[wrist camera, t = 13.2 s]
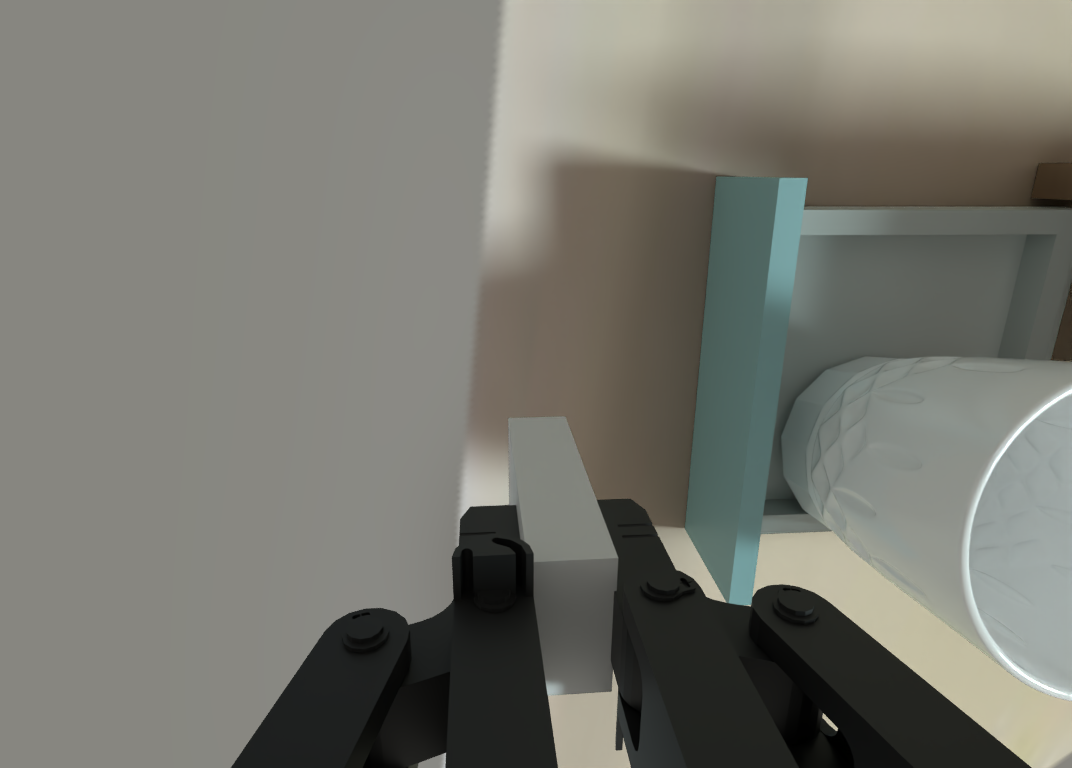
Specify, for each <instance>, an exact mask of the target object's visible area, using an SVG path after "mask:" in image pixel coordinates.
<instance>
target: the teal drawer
mask: <svg viewBox="0 0 1072 768" xmlns="http://www.w3.org/2000/svg"><path fill="white" fill-rule="evenodd" d="M807 181H808V178H783V177H716V187H715V198H714V209H713V220H712V231H711V243H710V254H709V265H708V276H707V287H706V298H705V309H704V321H703V332H702V343H701V354H700V365H699V376H698V387H697V399H696V410H695V421H694V432H693V443H692V454H691V466H690V477H689V488H688V499H687V510H686V521H685V530H686V532H687V533H688V535H689V537H690V539H691V540H692V542H693V544H694V546H695V548H696V549H697V551H698V553H699V555H700V556H701V558H702V560H703V562H704V563H705V565H706V567H707V569H708V570H709V572H710V574H711V576H712V578H713V579H714V581H715V583H716V585H717V586H718V588H719V590H720V592H721V593H722V595H723V597H724V599H725V600H726V602H727V603H731V604H737V605H751V602H752V594H753V587H754V579H755V572H756V564H757V557H758V549H759V542H760V534H775V533H800V532H825V531H831V530H830V529H829V528H828V527H826V526H825V525H824V524H822V523H821V522H819V521H818V520H817V519H815V518H814V517H813V516H811V515H810V514H808V513H807V512H806V511H804V510H803V509H802V507H801V506H800V504H799V502H798V500H797V499H796V497H795V495H794V493H793V492H792V490H791V488H790V486H789V485H788V483H787V481H786V479H785V478H784V476H783V462H782V444H781V435H782V433H783V430H784V428H785V425H786V422H787V420H788V417H789V415H790V412H791V410H792V407H793V405H794V402H795V400H796V398H797V397H798V396H799V395H800V394H801V393H802V392H803V391H804V390H805V389H806V388H807V387H808V386H809V385H810V384H812V383H813V382H814V381H815V380H816V379H817V378H818V377H819V376H820V375H821V374H822V373H823V372H824V371H825V370H827V369H829V368H832V367H835V366H838V365H841V364H843V363H846V362H849V361H852V360H855V359H858V358H860V357H863V356H871V357H885V358H904V359H910V358H919V357H927V356H934V357H940V356H947V357H992V358H1013V359H1034V360H1051V357H1052V353H1053V349H1054V345H1055V342H1056V338H1057V334H1058V331H1059V327H1060V323H1061V320H1062V316H1063V312H1064V309H1065V305H1066V301H1067V298H1068V294H1069V290H1070V286H1071V283H1072V207H935V206H804V203H805V196H806V188H807Z"/></svg>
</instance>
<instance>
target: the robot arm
mask: <svg viewBox="0 0 1072 768" xmlns="http://www.w3.org/2000/svg"><path fill="white" fill-rule="evenodd" d="M508 441H509V505H502V506H477V507H470V508H469V509H468V510H467V512H466V513H465V514H464V515H463V517H462V518H461V519H460V536H459V546H458V547H457V548H456V549H455V551H454V553H453V556H452V567H453V568H452V570H453V594H454V600H453V601H452V603H451V604H450V605H449V606H448V607H447V608H446V609H445V610H444V611H442V612H441V613H439V614H437V615H436V616H434V617H432V618H429V619H426V620H424V621H421V622H417V623H414V624H410V625H408V624H407V621H406V619H405V618H404V617H402V616H401V615H400V614H398V613H397V612H395V611H391V610H387V609H383V608H371V609H363V610H359V611H355V612H352V613H349V614H347V615H345V616H343V617H341V618H340V619H338V620H336V621H335V622H334V623H333V624H332V625H331V626H330V627H329V628H328V629H327V630H326V631H325V632H324V633H323V635H322V636H321V638H320V639H319V640H318V642H317V644H316V645H315V646H314V648H313V649H312V651H311V652H310V654H309V655H308V656H307V658H306V659H305V661H304V662H303V664H302V665H301V667H300V668H299V670H298V671H297V673H296V674H295V675H294V677H293V678H292V680H291V681H290V683H289V684H288V686H287V687H286V688H285V690H284V691H283V693H282V694H281V696H280V697H279V699H278V700H277V702H276V703H275V704H274V706H273V707H272V709H271V710H270V712H269V713H268V715H267V716H266V718H265V719H264V720H263V722H262V723H261V725H260V726H259V728H258V729H257V731H256V732H255V734H254V735H253V736H252V738H251V739H250V741H249V742H248V744H247V745H246V747H245V748H244V749H243V751H242V753H241V754H240V756H239V757H238V758H237V760H236V761H235V763H234V764H233V765H232V767H231V768H418V763H419V762H422V761H424V760H427V759H430V758H432V757H435V756H438V755H440V754H443V753H446V768H558V765H557V758H556V751H555V744H554V737H553V730H552V723H551V716H550V709H549V702H548V696H549V695H564V694H579V693H594V692H610V691H612V674H613V670H614V674H615V677H616V681H617V685H618V704H617V722H616V750H622V744H623V738H624V742H625V745H626V749H627V753H628V757H629V761H630V765H631V768H1031V767H1030V766H1029V765H1028V764H1026V763H1025V762H1024V761H1023V760H1022V759H1020V758H1019V757H1018V756H1017V755H1015V754H1014V753H1013V752H1012V751H1011V750H1009V749H1008V748H1007V747H1006V746H1004V745H1003V744H1002V743H1001V742H1000V741H998V740H997V739H996V738H995V737H993V736H992V735H991V734H990V733H989V732H987V731H986V730H985V729H984V728H982V727H981V726H980V725H979V724H978V723H976V722H975V721H974V720H973V719H971V718H970V717H969V716H968V715H967V714H965V713H964V712H963V711H962V710H960V709H959V708H958V707H957V706H955V705H954V704H953V703H952V702H951V701H949V700H948V699H947V698H946V697H944V696H943V695H942V694H941V693H940V692H938V691H937V690H936V689H935V688H933V687H932V686H931V685H930V684H929V683H927V682H926V681H925V680H924V679H922V678H921V677H920V676H919V675H918V674H916V673H915V672H914V671H913V670H911V669H910V668H909V667H908V666H907V665H905V664H904V663H903V662H902V661H900V660H899V659H898V658H897V657H896V656H894V655H893V654H892V653H891V652H889V651H888V650H887V649H886V648H885V647H883V646H882V645H881V644H880V643H878V642H877V641H876V640H875V639H874V638H872V637H871V636H870V635H869V634H867V633H866V632H865V631H864V630H862V629H861V628H860V627H859V626H858V625H856V624H855V623H854V622H853V621H851V620H850V619H849V618H848V617H847V616H845V615H844V614H843V613H842V612H840V611H839V610H838V609H837V608H836V607H834V606H833V605H832V604H831V603H829V602H828V601H827V600H825V599H824V598H822V597H820V596H819V595H817V594H816V593H814V592H811V591H808V590H806V589H803V588H800V587H796V586H790V585H783V584H782V585H770V586H766V587H764V588H761V589H759V590H757V592H756V593H755V595H754V596H753V597H752V603H751V607H750V606H744V605H737V604H731V603H725V602H721V601H716V600H712V599H710V598H707V597H706V596H705V594H704V592H703V590H702V589H701V587H700V586H699V585H698V584H697V582H696V581H695V580H694V579H693V578H691V577H690V576H688V575H686V574H684V573H683V572H681V571H677V570H676V569H675V567H674V565H673V563H672V561H671V559H670V557H669V555H668V553H667V551H666V549H665V548H664V546H663V544H662V542H661V540H660V538H659V537H658V534H657V532H656V530H655V528H654V526H652V522H651V520H650V518H649V516H648V514H647V512H646V510H645V509H643V508H642V507H641V506H639V505H638V504H637V503H635V502H634V501H633V500H631V499H610V500H596V497H595V494H594V492H593V489H592V486H591V484H590V481H589V478H588V476H587V473H586V470H585V468H584V465H583V462H582V459H581V457H580V454H579V451H578V449H577V446H576V443H575V441H574V438H573V435H572V433H571V430H570V427H569V425H568V422H567V419H566V417H565V416H560V417H525V418H508ZM823 713H824V714H825V715H826V716H827V717H828V718H829V719H830V720H831V721H832V722H833V723H834V724H835V725H836V727H837V728H838V731H835V730H834V729H833V728H832V727H831V726H829V725H828V723H827V722H826V721H825V720H824V719H823V718H822V715H823Z"/></svg>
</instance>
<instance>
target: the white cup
mask: <svg viewBox="0 0 1072 768" xmlns="http://www.w3.org/2000/svg"><path fill="white" fill-rule="evenodd" d="M781 444H782V462H783V476H784V478H785V479H786V481H787V483H788V485H789V486H790V488H791V490H792V492H793V493H794V495H795V497H796V499H797V500H798V502H799V504H800V506H801V507H802V509H803V510H804V511H806V512H807V513H808V514H810V515H811V516H813V517H814V518H815V519H817V520H818V521H819V522H821V523H822V524H824V525H825V526H826V527H828V528H829V529H830V530H831V531H833V532H834V533H835V534H836V535H837V536H838V537H839V538H840V539H841V540H842V541H843V542H844V543H845V544H846V545H847V546H848V547H849V548H850V549H851V550H852V551H854V552H855V553H856V554H857V555H858V556H859V557H861V558H862V559H863V560H864V561H866V562H867V563H868V564H869V565H871V566H872V567H873V568H874V569H875V570H876V571H877V572H879V573H880V574H881V575H882V576H884V577H885V578H886V579H887V580H889V581H890V582H891V583H893V584H894V585H895V586H897V587H898V588H899V589H900V590H902V591H903V592H904V593H906V594H907V595H908V596H910V597H911V598H912V599H914V600H915V601H916V602H918V603H919V604H920V605H922V606H923V607H924V608H925V609H927V610H928V611H929V612H931V613H932V614H933V615H935V616H936V617H937V618H939V619H940V620H941V621H943V622H944V623H945V624H946V625H948V626H949V627H950V628H952V629H953V630H954V631H956V632H957V633H958V634H959V635H961V636H962V637H963V638H965V639H966V640H967V641H969V642H970V643H971V644H972V645H974V646H975V647H976V648H978V649H979V650H980V651H982V652H983V653H984V654H985V655H987V656H988V657H989V658H991V659H992V660H993V661H994V662H996V663H997V664H998V665H1000V666H1001V667H1002V668H1003V669H1005V670H1006V671H1007V672H1009V673H1010V674H1011V675H1013V676H1014V677H1015V678H1017V679H1018V680H1020V681H1021V682H1023V683H1024V684H1026V685H1028V686H1030V687H1032V688H1034V689H1036V690H1038V691H1040V692H1042V693H1045V694H1047V695H1050V696H1053V697H1056V698H1060V699H1064V700H1068V701H1072V361H1055V360H1034V359H1013V358H992V357H947V356H940V357H934V356H927V357H919V358H910V359H904V358H885V357H871V356H863V357H860V358H858V359H855V360H852V361H849V362H846V363H843V364H841V365H838V366H835V367H832V368H829V369H827V370H825V371H824V372H823V373H822V374H821V375H820V376H819V377H818V378H817V379H816V380H815V381H814V382H813V383H812V384H810V385H809V386H808V387H807V388H806V389H805V390H804V391H803V392H802V393H801V394H800V395H799V396H798V397H797V398H796V400H795V402H794V405H793V407H792V410H791V412H790V415H789V417H788V420H787V422H786V425H785V428H784V430H783V433H782V435H781Z"/></svg>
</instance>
